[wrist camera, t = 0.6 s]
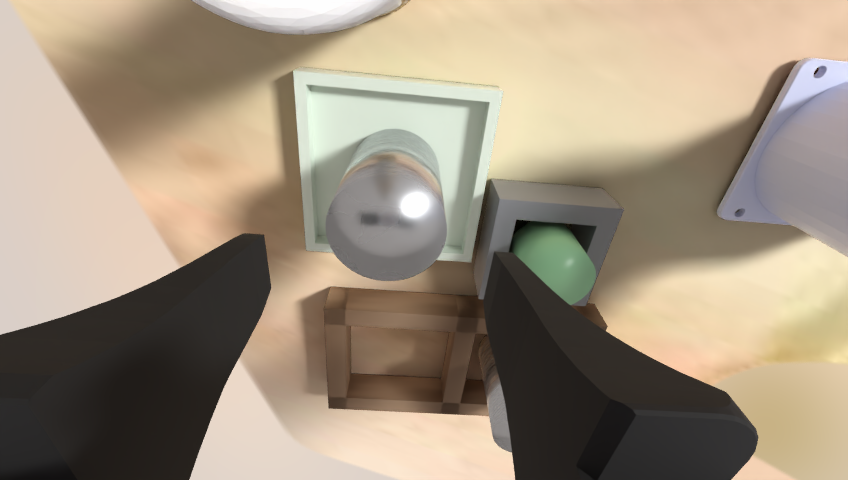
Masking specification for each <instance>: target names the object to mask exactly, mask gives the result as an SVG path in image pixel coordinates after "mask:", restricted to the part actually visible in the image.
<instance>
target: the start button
mask: <svg viewBox="0 0 848 480" xmlns="http://www.w3.org/2000/svg"><path fill="white" fill-rule="evenodd" d="M509 252H510V253H514V254H515V255H516V256H517V257H518V258H519V259H520V260H521V261H523V262H524V263H525V264H526V265H527V266H528V267H529V268H530V269H531V270H532V271H533V272H534V273H535V274H536V275H537V276H538V277H539V278H540V279H541V280H542V281H543V282H544V283H545V284H546V285H547V286H549V287H550V288H551V289H552V290H553V291H554V292H555V293H556V294H557V295H559V296H560V297H561V298H562V299H563V300H564V301H566V302H567V303H568V304H569V305H572V304H574V303H576V302H578V301H579V300H581V299H582V298H583V297H585V296H586V295H587V294H588V292H589V291H590V290H591V288H592V287H593V285H594V282H595V278H596V270H595V266H594V264H593V262H592V261H591V259H590V258H589V257H588V255H587V254H586V252H585V251H584V249H583V248H582V246H581V245H580V243H579V242H578V241H577V239H576V238H575V236H574V235H573V233H572V232H571V230H570V229H569V228H568V227H567V226H566V225H565V224H564V223H554V222H541V221H532V222H529V223H527V224H526V225H524V226H523V227H521V228H520V229H519V230H518V231H517V232H516V233H515V234H514V236H513V238H512V240H511V244H510V248H509Z"/></svg>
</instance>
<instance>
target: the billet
mask: <svg viewBox="0 0 848 480" xmlns="http://www.w3.org/2000/svg"><path fill="white" fill-rule="evenodd" d="M325 228H326V235H327V239H328V242H329V245H330V247H331V249H332V251H333V252H334V254H335V255H336V256H337V258H338V259H339V260H340V261H341V262H342V263H343V264H344V265H345V266H347V267H348V268H349V269H351V270H352V271H354V272H355V273H357V274H360V275H362V276H364V277H367V278H370V279H375V280H381V281H396V280H403V279H407V278H410V277H413V276H415V275H417V274H420V273H421V272H423V271H425V270H426V269H427V268H429V267H430V266H431V265H432V264H433V263H434V262H435V261H436V260H437V258H438V257H439V256H440V254H441V252H442V250H443V248H444V245H445V242H446V237H447V223H446V215H445V208H444V200H443V193H442V185H441V177H440V170H439V164H438V160H437V157H436V155H435V153H434V151H433V150H432V148H431V147H430V145H429V144H428V143H427V142H426V141H425V140H423V139H422V138H421V137H419V136H418V135H416V134H414V133H412V132H410V131H406V130H402V129H384V130H380V131H377V132H375V133H373V134H371V135H369V136H368V137H366V138H365V139H364V140H363V141H362V142H361V143H360V144H359V145H358V147H357V148H356V150H355V151H354V153H353V156H352V158H351V160H350V162H349V164H348V167H347V169H346V171H345V173H344V176H343V178H342V180H341V182H340V185H339V187H338V189H337V191H336V194H335V196H334V198H333V200H332V202H331V205H330V207H329V210H328V212H327V217H326V227H325Z"/></svg>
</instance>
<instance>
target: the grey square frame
mask: <svg viewBox="0 0 848 480" xmlns="http://www.w3.org/2000/svg"><path fill="white" fill-rule="evenodd" d="M623 211H624V208H623V207H622V206H620V205H619V204H618V203H617V202H616V201H615V200H614V199H613V198H612V197H611V196H610V195H609V194H608V193H607V192H606V191H605V190H604V189H603V188H594V187H582V186H571V185H559V184H547V183H535V182H524V181H512V180H500V179H491V183H490V188H489V193H488V198H487V203H486V208H485V213H484V218H483V224H482V229H481V234H480V239H479V244H478V249H477V254H476V260H475V265H474V270H473V275H474V280H475V284H476V289H477V294H478V299H484V295H485V290H486V286H487V281H488V277H489V272H490V268H491V263H492V259H493V254H494V251H496V252H509V248H510V244H511V240H512V235H513V231H514V227H515V223H516V220H528V221H541V222H554V223H566V224H572V226H571V229H570V230H571V232H572V233H573V235H574V236H575V238H576V239H577V241H578V242H579V243H580V245H581V246H582V248H583V249H584V251H585V252H586V254H587V255H588V257H589V258H590V259H591V261H592V262H593V264H594V266H595V270H596V278H595V281H596V279H597V276H598V274H599V271H600V269H601V266H602V264H603V261H604V259H605V256H606V254H607V251H608V249H609V246H610V244H611V241H612V239H613V236H614V234H615V231H616V229H617V226H618V224H619V221H620V218H621V216H622V213H623ZM594 284H595V282H594ZM593 286H594V285H593ZM592 289H593V287H592V288H591V290H590V291H589V292H588V294H587V295H586V296H585V297H583V298H582V299H581V300H579V301H578V302H576V303H574V304H572V305H574V306H586V304H587V301H588V299H589V296H590V294H591V291H592Z"/></svg>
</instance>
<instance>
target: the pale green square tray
mask: <svg viewBox="0 0 848 480" xmlns="http://www.w3.org/2000/svg"><path fill="white" fill-rule="evenodd" d="M293 77H294V91H295V105H296V119H297V133H298V146H299V160H300V174H301V188H302V202H303V216H304V230H305V244H306V251H319V252H333V251H332V249H331V247H330V245H329V242H328V239H327V235H326V228H325V227H326V217H327V212H328V210H329V207H330V205H331V202H332V200H333V198H334V196H335V194H336V191H337V189H338V187H339V185H340V182H341V180H342V178H343V176H344V173H345V171H346V169H347V167H348V164H349V162H350V160H351V158H352V156H353V153H354V151H355V150H356V148H357V147H358V145H359V144H360V143H361V142H362V141H363V140H364V139H365V138H366V137H368V136H369V135H371V134H373V133H375V132H377V131H380V130H384V129H402V130H406V131H410V132H412V133H414V134H416V135H418V136H419V137H421V138H422V139H423V140H425V141H426V142H427V143H428V144H429V145H430V147H431V148H432V150H433V151H434V153H435V155H436V157H437V160H438V164H439V170H440V177H441V185H442V193H443V200H444V208H445V215H446V223H447V237H446V242H445V245H444V248H443V250H442V252H441V254H440V256H439V257H438V258H437V260H445V261H459V262H471V260H472V254H473V249H474V244H475V239H476V233H477V228H478V223H479V217H480V212H481V207H482V201H483V196H484V191H485V186H486V180H487V175H488V170H489V164H490V159H491V154H492V148H493V143H494V138H495V132H496V127H497V122H498V117H499V111H500V106H501V101H502V95H503V91H502V90H501V89H500V88H499V87H498V86H488V85H478V84H468V83H458V82H448V81H438V80H427V79H417V78H407V77H397V76H387V75H377V74H367V73H357V72H347V71H337V70H327V69H317V68H307V67H299V68H297V69H295V70H293ZM333 253H334V252H333Z"/></svg>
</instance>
